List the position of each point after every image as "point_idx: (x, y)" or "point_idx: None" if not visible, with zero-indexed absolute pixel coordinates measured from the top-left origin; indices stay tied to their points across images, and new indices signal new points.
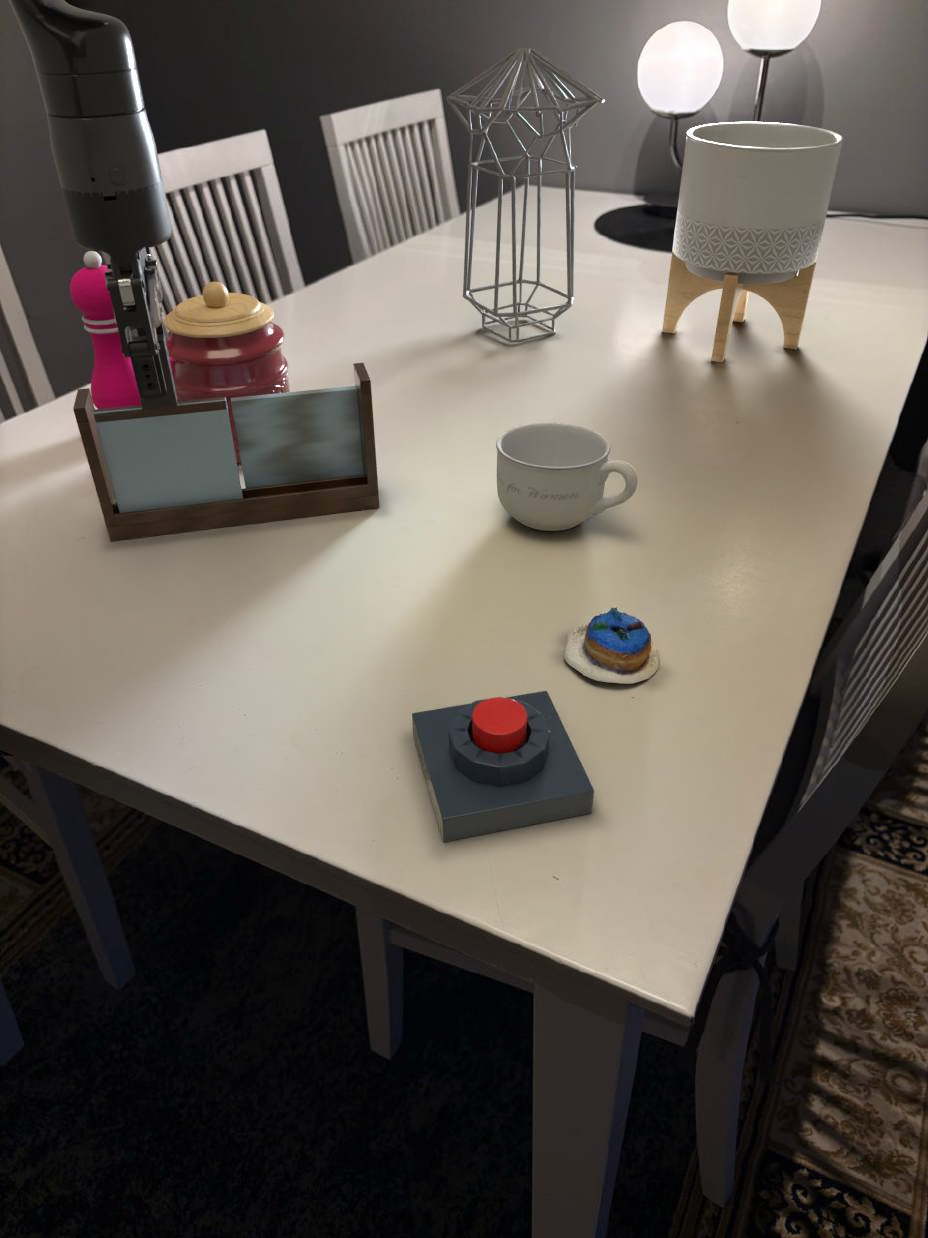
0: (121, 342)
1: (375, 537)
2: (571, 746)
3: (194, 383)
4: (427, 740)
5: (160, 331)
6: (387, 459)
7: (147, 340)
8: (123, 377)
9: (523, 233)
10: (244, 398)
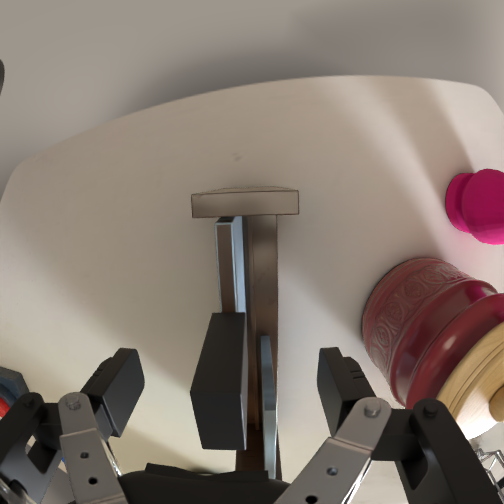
0: (8, 410)
1: (192, 411)
2: None
3: (420, 327)
4: (3, 379)
5: (328, 421)
6: (323, 427)
7: (32, 447)
8: (493, 216)
9: (498, 490)
10: (269, 423)
